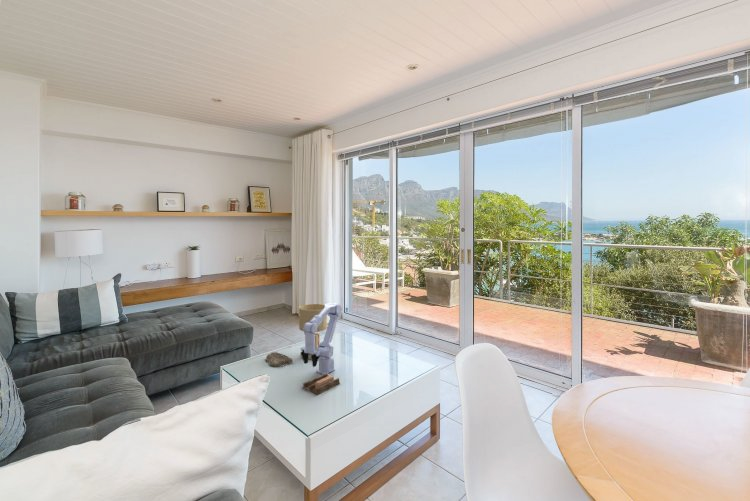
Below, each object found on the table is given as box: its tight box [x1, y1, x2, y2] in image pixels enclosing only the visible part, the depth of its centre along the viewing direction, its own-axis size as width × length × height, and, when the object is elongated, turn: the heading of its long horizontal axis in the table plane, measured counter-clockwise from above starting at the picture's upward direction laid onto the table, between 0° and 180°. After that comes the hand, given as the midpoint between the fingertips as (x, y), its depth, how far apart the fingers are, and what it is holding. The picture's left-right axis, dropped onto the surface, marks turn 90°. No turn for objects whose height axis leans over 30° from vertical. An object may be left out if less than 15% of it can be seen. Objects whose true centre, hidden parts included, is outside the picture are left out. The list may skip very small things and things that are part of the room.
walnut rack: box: [302, 373, 341, 396], centre depth 203 cm, size 18×12×3 cm, turn 141°
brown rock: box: [265, 351, 294, 367], centre depth 240 cm, size 14×5×20 cm
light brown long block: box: [315, 374, 335, 389], centre depth 202 cm, size 12×2×4 cm, turn 141°
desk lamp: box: [298, 303, 328, 360], centre depth 249 cm, size 20×20×35 cm
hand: (310, 364), depth 210 cm, fingers open, 7 cm apart
